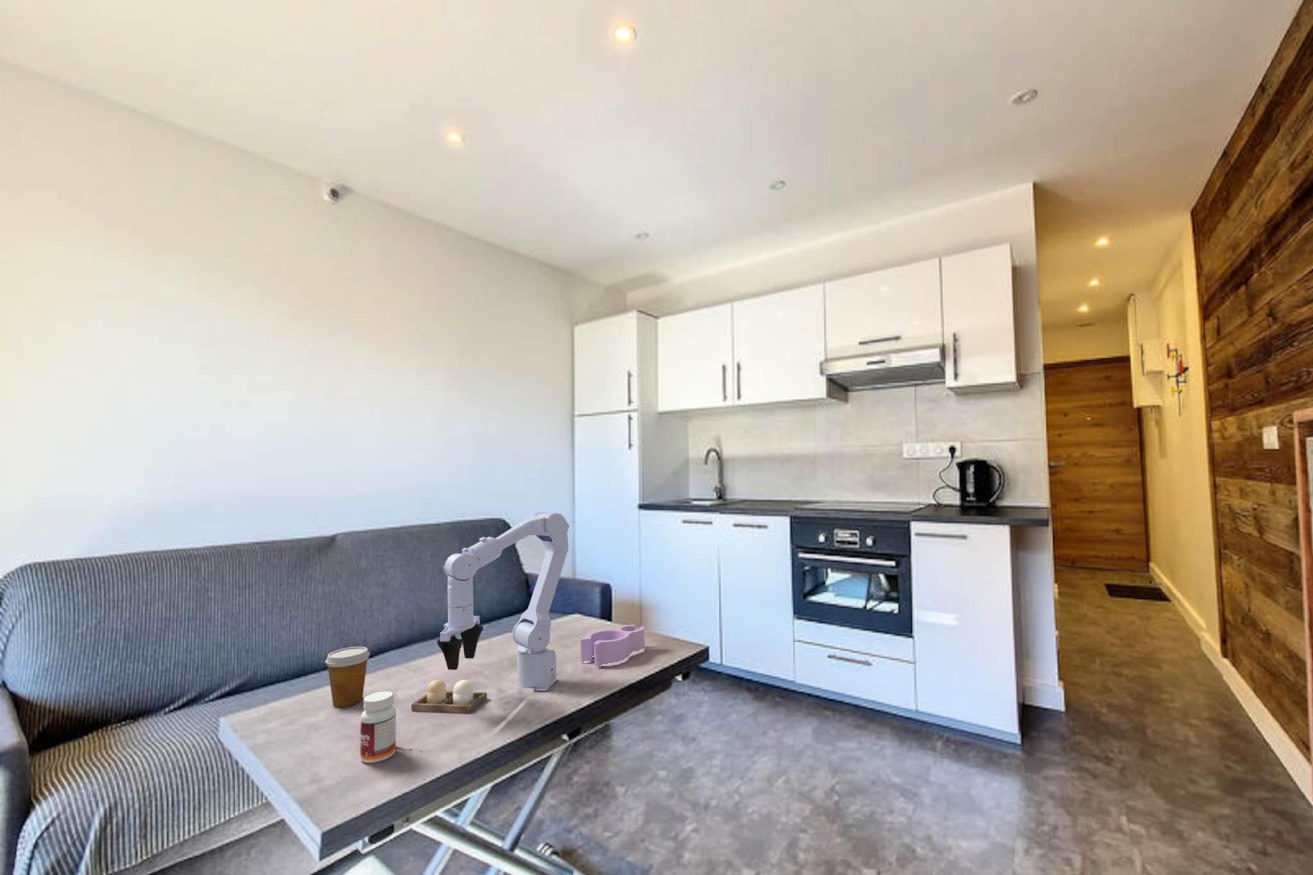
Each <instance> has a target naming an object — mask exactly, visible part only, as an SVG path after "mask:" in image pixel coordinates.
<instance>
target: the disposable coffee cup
mask: <svg viewBox="0 0 1313 875" xmlns="http://www.w3.org/2000/svg"><path fill="white" fill-rule="evenodd" d="M370 654H371V653H370V652H369V649H368V648H367V646H350V647H344V648H340V649H337V650H334V651H332V652H330V653H328V654H327V658H326V659H325V664H326V666H327V670H328V678H329V685H330V692H331V701H332V705H333V707H334V708H347V707H351V706H354V705H357V704H359V703H360V702H362V701H363V700H364V698H363V697H364V689H365V682H366V675H367V674H366V673H367V667H368V666H367V665H368V659H369V656H370Z"/></svg>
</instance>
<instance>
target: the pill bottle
mask: <svg viewBox="0 0 1313 875" xmlns="http://www.w3.org/2000/svg"><path fill="white" fill-rule="evenodd" d="M393 704H394V693H393V692H392V691H387V690H385V691H377V692H374V693H370V694H368V695H367V696H365V697H364V698H363V709H364V710H363V712H362V713H361V715H360V727H359V728H360V732H359V733H360V736H359V737H360V738H359V739H360V740H359V741H360V742H359V743H360V745H359V746H360V747H359V750H360V751H359V753H360V756H359V758H360V760H361V762H363V763H366V764H374V763H379V762H382V761H385V760H388V759H389V758H391V757H392V756H393V755H394V754H395V753H396V749H397V748H396V744H397V743H396V742H397V741H396V736H397V735H396V734H397V733H396V732H397V731H396V730H397V728H396V726H397V723H396V722H397V721H396V720H397V718H396V713H397V711H396V708H395V706H393Z"/></svg>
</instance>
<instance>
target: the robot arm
mask: <svg viewBox="0 0 1313 875" xmlns="http://www.w3.org/2000/svg"><path fill="white" fill-rule="evenodd" d="M569 528H570V525H569V523H568V521H567V520H566V518H565V517H564V515H563V514H561V513H557V512H556V513H555V512H554V513H549V512H548V513H547V512H537V513H535V514H534V515H531V516H528V517H527V518H525V519H523V521H521V522H519V523H518V524H516V525H515V526H513V527H511V528H510V529H508V530H507V531H505V532H503V533H502V534H499V536H497V537H492V536H487V537H485V536H483V537H480V538H479V542H476V543H475V544H473V545H471V546H469V547H464V548H463V549H461V550H462V552H461V553H453V554H451V555H449V556H448V558H447V559H446V561H445V562H444V565H443V566H442V569H443V572H444V573H445V576H446V577H447V622H446V623H444V624H443V628H444V629H443V630H442V631H441V632H440V633H439V638H438V639H437V640H436V642H437V645H438V648H439V649H440V651H441V652H442V655H443V656H444V661H445V664H446V667H447V670H448V671H456V670H458V669H459V663H460V651H461V647H463V649H462V650H463V655H464V659H468V660H469V659H470V660H471V659H474V658H475V656H476V650H477V647H478V643H479V639H480V637H481V634H482V632H483V630H484V626H483V625H480V624H481V622H480V621H481V619H480V615H474V583H473V582H474V581H473V580H474V578H473V577H474V576H475V575H476V573H477V571H478V570H480V569H481V568H482V567H485V566H487V565H489V563H492V562H493V561H495V560H496V559H498V558H500V557H501V555H502V552H503V550H504V549H506V548H508V547H511V545H514V544H516V543H517V542H519V541H521V540H523V539H525V538H527V537H529V536H536V537H537V538H538V539H539V540H541V542H542V544H543V546H544V548H545V549H546V552H545V555H544V558H543V562H542V565H541V567H540V571H539V574H538V576H537V580H536V582H535V585H534V590H533V592H532V595H531V598H530V602H529V605H528V608H527V609H526V610H524V612H523V613H521V615H520V619H519V620H518V622H517V623H516V624H515V625H514V627H513V629H512V632H511V633H512V635H511V636H512V639H513V641H514V642H515V643H516V646H517V647H516V659H517V660H516V662H517V663H516V664H517V665H516V666H517V670H516V671H517V685H518V686H519V687H521V688H524V689H529V688H533V692H535V691H537V692H539V691H540V692H546V691H548V690H549V689H550V688H552V686H553V685H554V683H556V682H557V681H558V680H559V678H558V677H557V655H556V652H555V650H554V649H549V648H547V647H548V645H549V643H550V640H551V631H550V630H551V625H552V621H551V618H550V615H549V612H550V610H551V606H552V603H553V600H554V596H555V593H556V590H557V587H558V585H559V584H558V583H559V582H560V577H561V573H562V570H563V567H564V564H565V561H566V558H567V555H568V551H569V538H568V537H569V536H568V532H569ZM459 634H460V637H461V638H457V637H456V636H458V635H459Z"/></svg>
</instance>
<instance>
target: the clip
mask: <svg viewBox="0 0 1313 875" xmlns="http://www.w3.org/2000/svg"><path fill="white" fill-rule="evenodd" d="M636 627H637V626H636V624H625V625H620V626H619V627H616V628H611V629H600V630H596V631H593V632H590V633H588V634H587V635H586V636H585V637H581V638H579V648H580V649H579V653H580V654H579V655H580V663H581V662H584V661H592V662H593V659H592V656H594V654H595V657H594V668H595V667H600V665H602V664H608V663H614V662H618V661H621V660H624V659H625V658H627V657H628V656H629V655H630V653H632V652H633V651H639V650H640V649H643V648H644V647H645V648H646V642H645V640H646V639H645V627H644V626H639V628H636ZM600 668H601V667H600Z"/></svg>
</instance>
